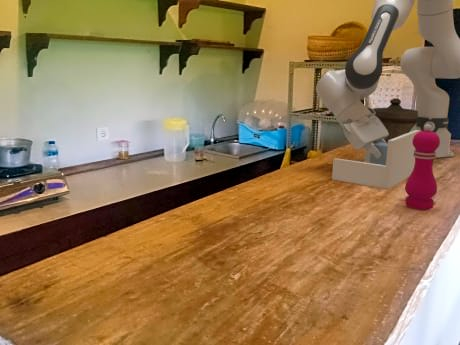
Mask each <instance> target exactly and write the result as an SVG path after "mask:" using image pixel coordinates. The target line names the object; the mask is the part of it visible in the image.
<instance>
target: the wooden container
mask: <svg viewBox="0 0 460 345" xmlns="http://www.w3.org/2000/svg"><path fill="white" fill-rule="evenodd" d="M389 103H390V105H389V106H388V107H375V108H372V109H373V110H374V111H375V113H376V114H375V116H377V117H378V118H379V120H380V121H381V122H382V124H383V125H384V126H385V128H386V129H387V131H388V133H389V135H388V136H387V137H386V138H385V139H384V140H385V141H386V143H388V140H391V139H393V138H396V137H399V136H401V135H404V134H407V133H409V132H412V131H415V130H416V123H417V117H418V111H416V109H410V108H403V107H402V106H401V103H402V101H401V99H400V98H397V97H396V98H395V97H394V98H392V99H390V101H389Z"/></svg>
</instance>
